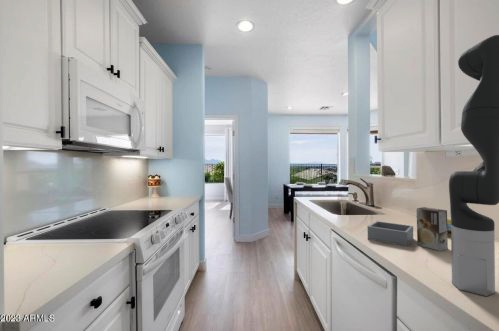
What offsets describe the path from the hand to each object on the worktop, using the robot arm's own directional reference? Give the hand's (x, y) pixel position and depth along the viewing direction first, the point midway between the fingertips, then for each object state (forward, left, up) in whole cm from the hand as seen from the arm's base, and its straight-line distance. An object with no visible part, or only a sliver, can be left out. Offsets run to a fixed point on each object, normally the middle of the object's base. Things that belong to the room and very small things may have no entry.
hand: (465, 182), depth 95 cm
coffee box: (+3, +11, -28) cm, 31 cm away
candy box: (+29, +10, -29) cm, 42 cm away
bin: (+4, +27, -28) cm, 39 cm away
